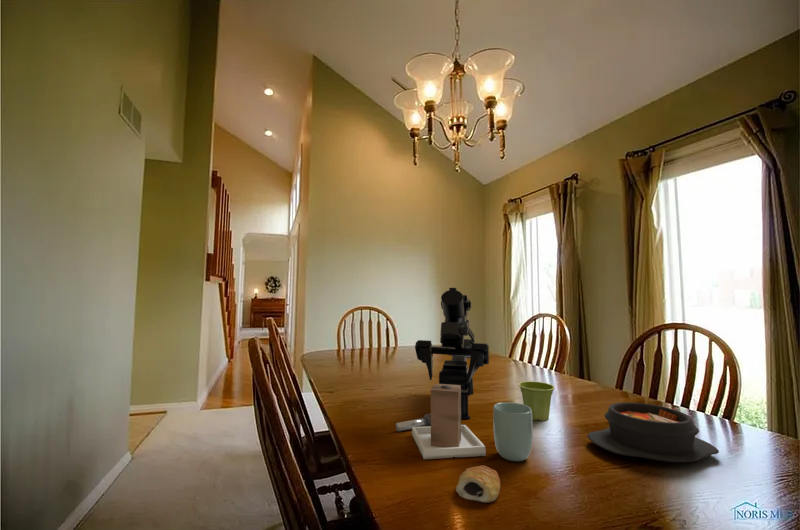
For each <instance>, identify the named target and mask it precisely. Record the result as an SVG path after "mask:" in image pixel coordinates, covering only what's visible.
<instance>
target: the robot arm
mask: <svg viewBox="0 0 800 530" xmlns="http://www.w3.org/2000/svg"><path fill="white" fill-rule="evenodd" d="M440 296H441V297H440V300H441V301H440V306H441V309H442V314H443V316H444V321H443V322H441V323H440V338H439V342H440V344H441V345H433V343H432V340H426V339H425V340H424V339H418V340H417V341H416V342H415V343H414V344H415V345H414V350H415V354H416V359H417V360H418V361H421V362H422V363H423V364H425V365H426V368H427V372H428V377H429V380H430V381H432V379H433V367H434V360H433V356H434V355H445V356H446V355H447V356H450V357H451V360H450V359H446V360H445V361H444V362H443V364H442V368H441V370H440V371H439V373H438V384H450V385H461V420H464V419H466V420H467V419H469V420H470V419H471V416H470V415H469V397H471V395H474V379H473V376H474V375H475V373H476V372H477V371H478V369H479V368H480V367H481V368H483V367H484V365H489V363H490V353H489V351H490V347H489V345H488V344H487V343H486V342H475V341H476V339H475V338H476V337H475V334H474V333H473V331H472V330H471V328H470V320H469V319H468V317H467V316H468V314H469V313H468V312H470V311H471V309H472V302H471V300H470V298H468V295H467V294H463V293H462V292H461V291H459V290H458V289H457V287H449V288H448V290H447V291H445V292H443V293H442V294H441V295H440ZM465 336H469V338H465ZM467 360H469V365H468V362H467Z"/></svg>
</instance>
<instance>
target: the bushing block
mask: <svg viewBox="0 0 800 530" xmlns="http://www.w3.org/2000/svg"><path fill="white" fill-rule="evenodd" d="M430 414H431V446H434V447H443V448H449V447H459V445H460V441H461V425H462V419H461V385H450V384H439V383H434V385H433V386H432V387H431V389H430Z"/></svg>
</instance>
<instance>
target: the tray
mask: <svg viewBox="0 0 800 530" xmlns="http://www.w3.org/2000/svg"><path fill="white" fill-rule="evenodd" d="M411 436H412V438H413V439H414V442H415V444H416V446H417V449H418V451H419V453H420V454H421V457H422V459H423V460H433V459H434V460H436V459H450V458H451V459H452V458H453V457H455V458H467V457H468V458H471V457H485V456H486V455H487V453H486V452H487V451H486V450H487V449H486V446H485V445H484V443H483V442H482V441H481V440H480V439H479V438H478V437H477V436H476V434H474V433H473V431H472V430H471V429H470V428H469V427H468V426H467V425H466V424H461V441H460V445H459V447H449V448H443V447H434V446H431V426H425V427H412V429H411ZM453 459H454V458H453Z"/></svg>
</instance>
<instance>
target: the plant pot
mask: <svg viewBox="0 0 800 530" xmlns="http://www.w3.org/2000/svg"><path fill="white" fill-rule="evenodd" d="M518 386H519V388H520V392H521V395H522V402H523V403H522V404H523V405H526V406H529V407H530V408H531V410H532V421H537V420H539V421H541V422H543V421H548V420H549V419H550V411H551V402H552V395H553V393H554V390H555V386H554V385H553V384H550V383H548V382H543V381H535V380H534V381H532V380H529V381H527V380H526V381H521V382H519V383H518Z"/></svg>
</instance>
